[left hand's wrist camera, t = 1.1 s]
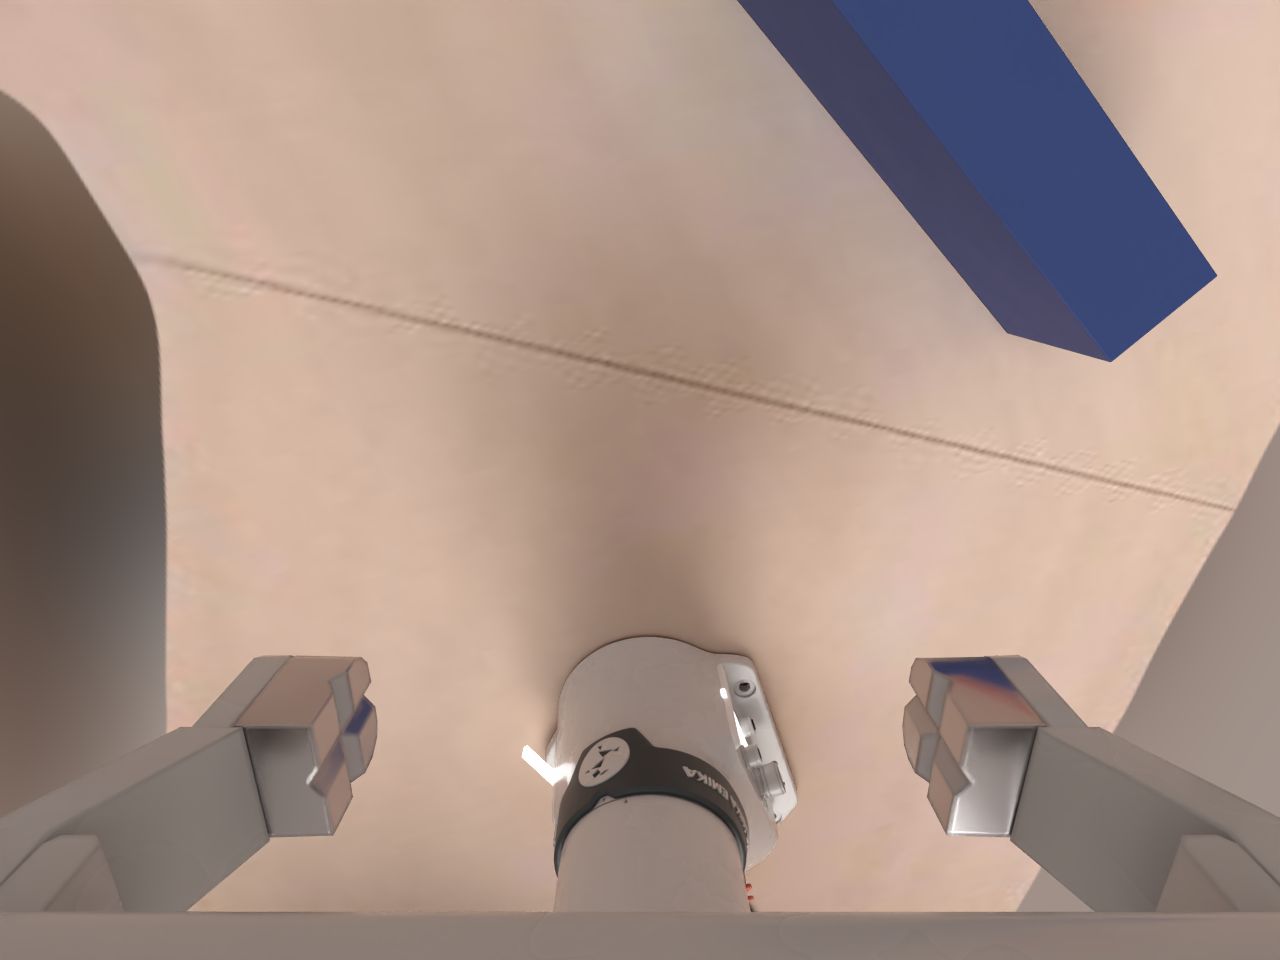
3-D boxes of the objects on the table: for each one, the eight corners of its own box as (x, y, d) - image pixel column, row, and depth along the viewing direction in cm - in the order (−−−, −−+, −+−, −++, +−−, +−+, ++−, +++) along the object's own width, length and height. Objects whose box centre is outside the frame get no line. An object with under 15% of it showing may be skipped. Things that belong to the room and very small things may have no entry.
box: (1086, 265, 44) (1218, 275, 34) (1007, 333, 45) (1111, 363, 35) (799, -120, 37) (858, -248, 27) (716, -25, 38) (743, -114, 29)
